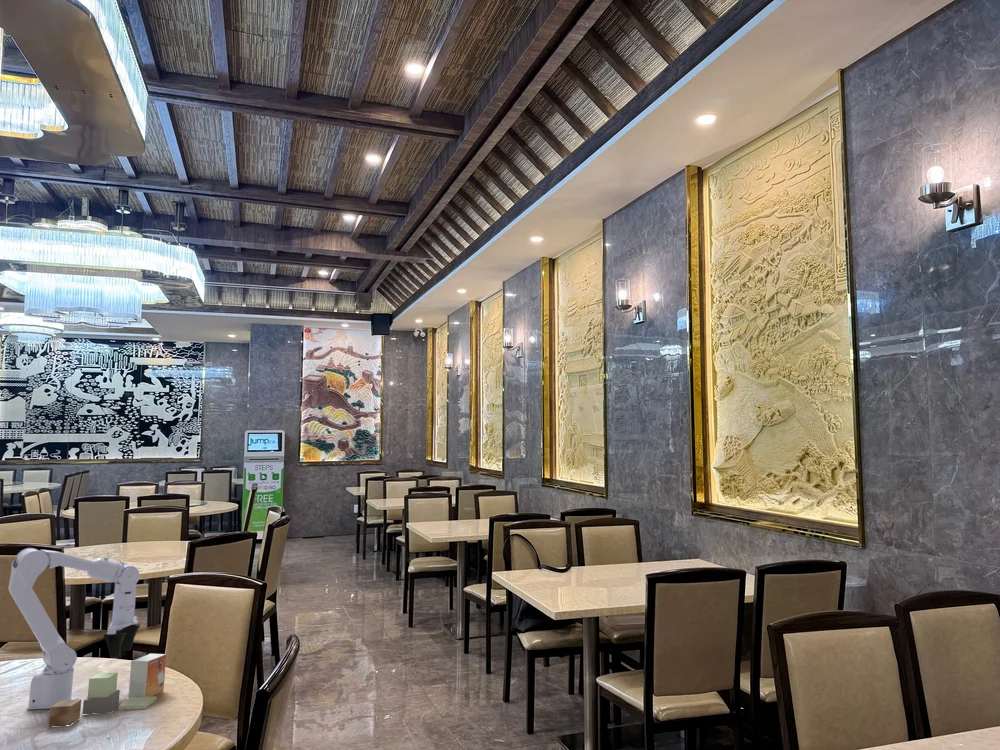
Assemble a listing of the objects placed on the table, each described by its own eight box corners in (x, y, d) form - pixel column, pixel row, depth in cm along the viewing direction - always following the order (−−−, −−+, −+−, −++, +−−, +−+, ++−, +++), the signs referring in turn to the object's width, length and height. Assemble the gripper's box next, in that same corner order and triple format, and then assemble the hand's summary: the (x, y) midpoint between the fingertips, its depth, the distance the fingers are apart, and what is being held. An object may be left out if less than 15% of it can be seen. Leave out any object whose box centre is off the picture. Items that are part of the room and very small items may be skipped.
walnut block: (48, 727, 167) (50, 706, 168) (59, 720, 172) (61, 700, 173) (69, 726, 167) (71, 706, 168) (79, 719, 172) (81, 699, 173)
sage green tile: (118, 709, 179) (118, 705, 179) (130, 700, 186) (130, 697, 186) (145, 708, 180) (145, 704, 180) (156, 700, 187) (156, 696, 187)
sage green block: (87, 698, 178) (89, 678, 178) (97, 692, 182) (99, 672, 183) (106, 697, 178) (108, 677, 179) (116, 691, 183) (117, 672, 184)
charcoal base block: (82, 716, 175) (83, 700, 176) (90, 707, 182) (91, 692, 182) (111, 713, 177) (113, 697, 178) (118, 704, 184) (119, 689, 184)
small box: (144, 700, 186) (147, 661, 188) (127, 699, 187) (130, 660, 189) (164, 691, 194) (166, 653, 196) (147, 690, 195) (150, 652, 197)
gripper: (127, 611, 191) (123, 660, 189) (148, 601, 205) (145, 647, 203) (101, 611, 190) (97, 661, 188) (124, 601, 205) (121, 647, 203)
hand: (120, 653), depth 196 cm, fingers open, 7 cm apart
